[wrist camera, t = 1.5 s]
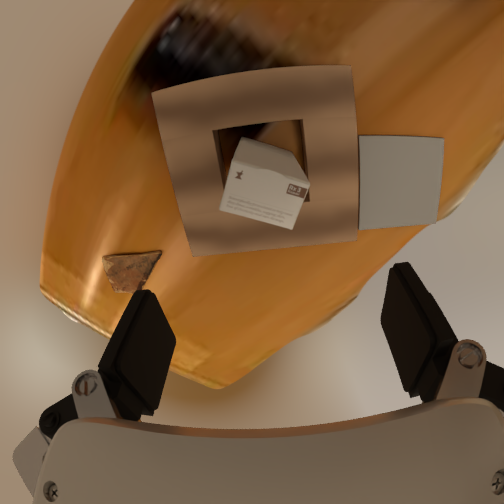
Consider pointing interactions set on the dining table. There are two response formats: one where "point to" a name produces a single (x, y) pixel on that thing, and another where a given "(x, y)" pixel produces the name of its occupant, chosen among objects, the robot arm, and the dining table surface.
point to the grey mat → (399, 180)
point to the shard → (130, 270)
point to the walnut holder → (252, 112)
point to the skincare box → (264, 184)
